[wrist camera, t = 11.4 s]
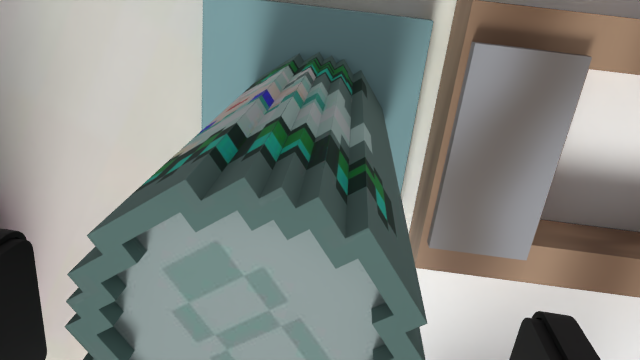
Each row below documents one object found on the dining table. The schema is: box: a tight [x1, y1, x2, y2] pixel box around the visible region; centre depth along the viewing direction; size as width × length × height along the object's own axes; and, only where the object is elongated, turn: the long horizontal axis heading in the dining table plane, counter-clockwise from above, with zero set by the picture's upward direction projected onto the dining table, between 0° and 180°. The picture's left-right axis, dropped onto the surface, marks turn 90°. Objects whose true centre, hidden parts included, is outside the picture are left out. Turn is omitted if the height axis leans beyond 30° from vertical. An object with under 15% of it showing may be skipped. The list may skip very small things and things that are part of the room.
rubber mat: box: [202, 0, 433, 194], centre depth 23 cm, size 10×10×1 cm
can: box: [65, 52, 427, 360], centre depth 15 cm, size 6×6×15 cm
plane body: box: [409, 0, 640, 297], centre depth 21 cm, size 18×12×4 cm, turn 84°
